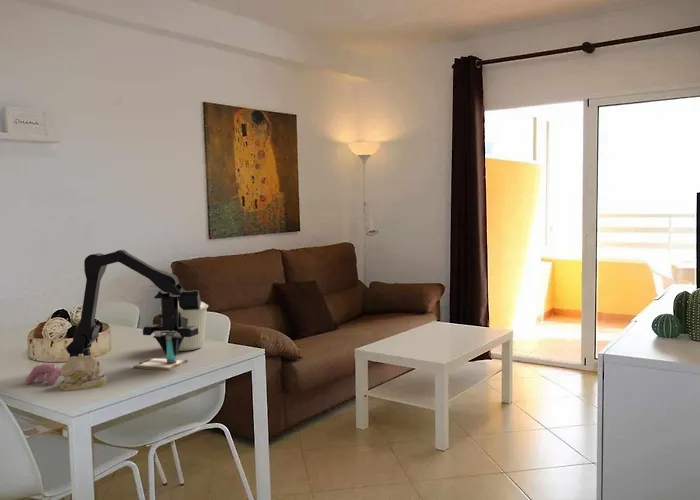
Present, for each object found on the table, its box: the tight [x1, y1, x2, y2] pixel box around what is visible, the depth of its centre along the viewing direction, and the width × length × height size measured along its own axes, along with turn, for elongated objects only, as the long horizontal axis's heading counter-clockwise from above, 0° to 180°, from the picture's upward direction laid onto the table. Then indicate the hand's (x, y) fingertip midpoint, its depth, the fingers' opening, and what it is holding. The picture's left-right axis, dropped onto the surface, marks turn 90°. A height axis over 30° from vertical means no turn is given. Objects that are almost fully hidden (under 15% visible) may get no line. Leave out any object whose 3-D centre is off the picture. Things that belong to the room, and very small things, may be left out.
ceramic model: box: [59, 353, 108, 391], centre depth 189 cm, size 14×11×10 cm
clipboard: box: [132, 357, 189, 371], centre depth 213 cm, size 12×14×1 cm
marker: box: [166, 334, 178, 364], centre depth 212 cm, size 3×3×10 cm
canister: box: [159, 300, 209, 352], centre depth 237 cm, size 18×18×21 cm
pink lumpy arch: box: [25, 363, 62, 387], centre depth 193 cm, size 10×5×7 cm, turn 75°
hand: (171, 355), depth 212 cm, fingers closed on marker, 3 cm apart
